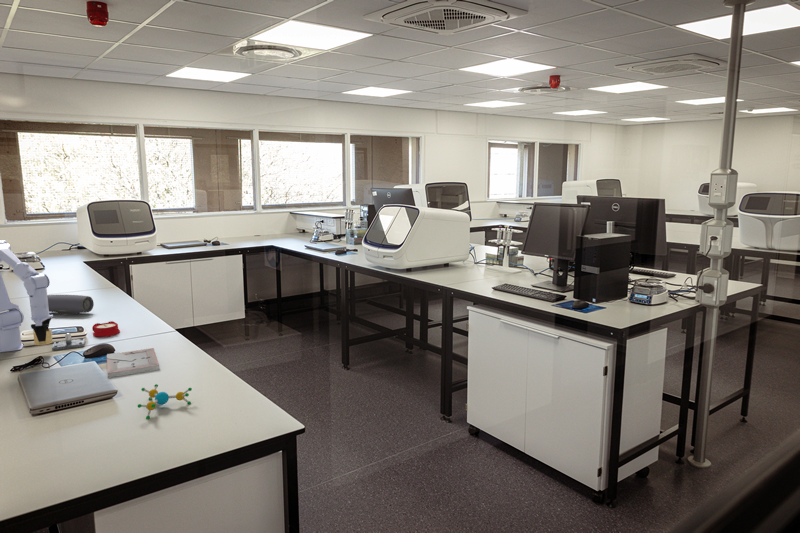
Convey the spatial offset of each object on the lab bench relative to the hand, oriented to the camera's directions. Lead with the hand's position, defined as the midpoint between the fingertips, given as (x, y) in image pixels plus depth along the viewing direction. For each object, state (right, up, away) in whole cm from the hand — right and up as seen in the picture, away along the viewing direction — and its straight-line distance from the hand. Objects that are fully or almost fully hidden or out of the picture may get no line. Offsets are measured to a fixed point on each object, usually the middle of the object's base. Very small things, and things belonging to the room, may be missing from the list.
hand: (43, 338), depth 201 cm
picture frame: (+40, -9, -9) cm, 42 cm away
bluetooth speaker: (-29, +4, +61) cm, 67 cm away
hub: (0, -2, 0) cm, 2 cm away
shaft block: (+3, -4, +11) cm, 12 cm away
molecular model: (+67, -15, -44) cm, 81 cm away
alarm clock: (+8, -2, +29) cm, 30 cm away
